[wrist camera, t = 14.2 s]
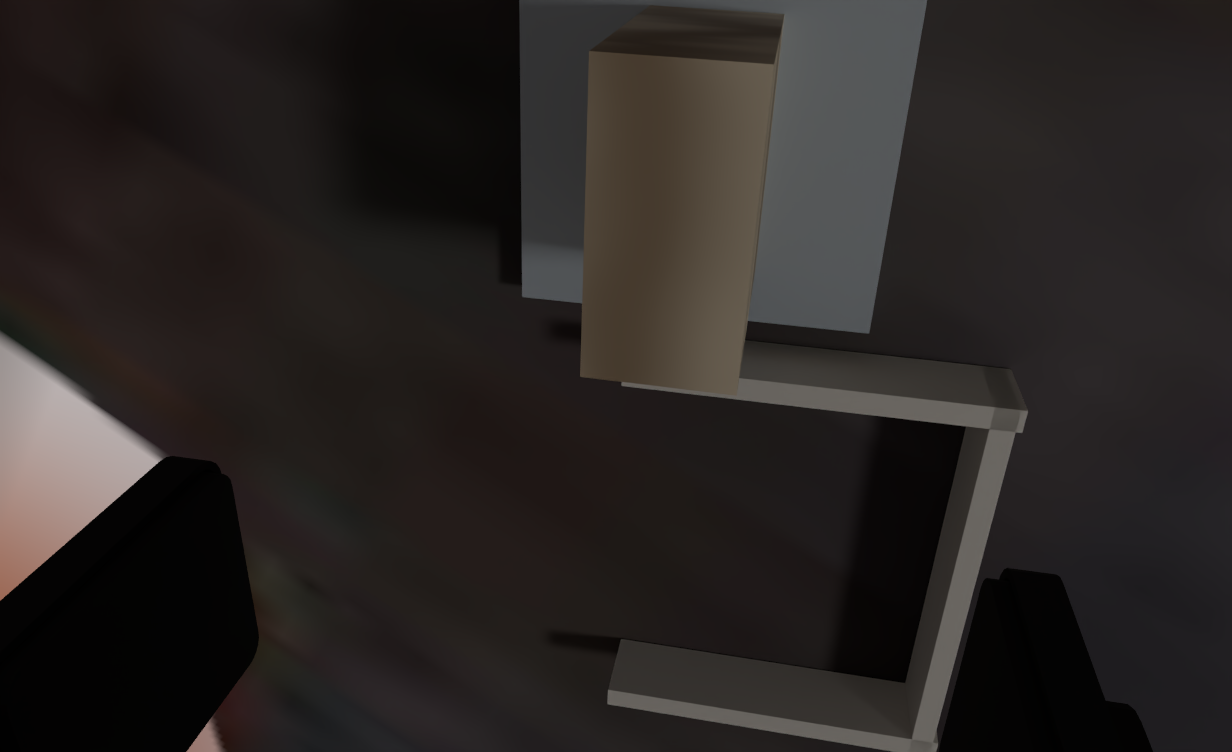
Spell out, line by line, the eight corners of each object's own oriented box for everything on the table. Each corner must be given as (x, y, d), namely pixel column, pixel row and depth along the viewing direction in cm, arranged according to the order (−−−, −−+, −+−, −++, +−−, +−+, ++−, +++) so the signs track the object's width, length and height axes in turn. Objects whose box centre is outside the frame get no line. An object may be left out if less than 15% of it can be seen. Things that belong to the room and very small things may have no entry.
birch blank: (784, 14, 28) (773, 64, 20) (755, 269, 32) (736, 395, 24) (650, 5, 29) (588, 50, 21) (636, 257, 32) (580, 376, 25)
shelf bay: (926, 701, 40) (934, 758, 37) (620, 652, 42) (607, 704, 39) (1010, 369, 33) (1028, 411, 30) (636, 328, 35) (622, 364, 32)
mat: (867, 321, 33) (868, 333, 32) (529, 286, 35) (522, 297, 34) (933, -61, 28) (937, -59, 27) (527, -80, 29) (518, -79, 28)
